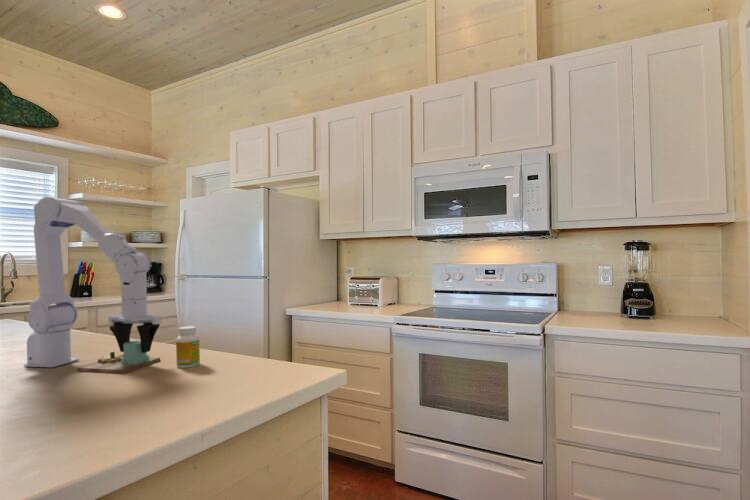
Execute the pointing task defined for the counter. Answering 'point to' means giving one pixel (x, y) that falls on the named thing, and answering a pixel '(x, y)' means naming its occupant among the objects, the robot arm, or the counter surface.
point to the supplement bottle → (187, 347)
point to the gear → (134, 353)
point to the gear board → (114, 364)
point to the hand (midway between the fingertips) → (135, 351)
